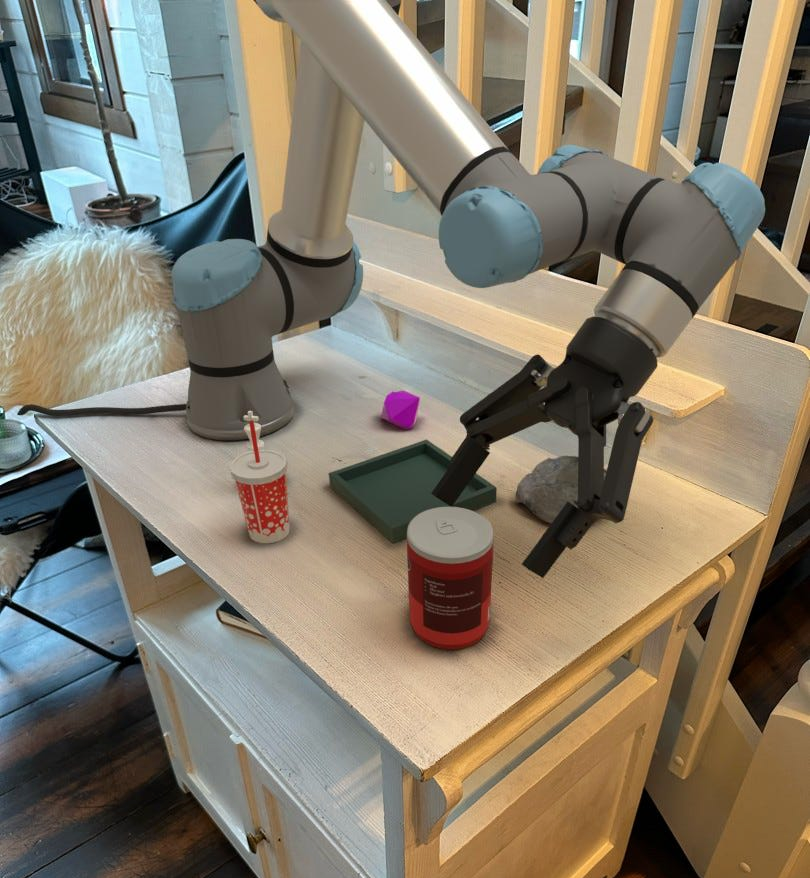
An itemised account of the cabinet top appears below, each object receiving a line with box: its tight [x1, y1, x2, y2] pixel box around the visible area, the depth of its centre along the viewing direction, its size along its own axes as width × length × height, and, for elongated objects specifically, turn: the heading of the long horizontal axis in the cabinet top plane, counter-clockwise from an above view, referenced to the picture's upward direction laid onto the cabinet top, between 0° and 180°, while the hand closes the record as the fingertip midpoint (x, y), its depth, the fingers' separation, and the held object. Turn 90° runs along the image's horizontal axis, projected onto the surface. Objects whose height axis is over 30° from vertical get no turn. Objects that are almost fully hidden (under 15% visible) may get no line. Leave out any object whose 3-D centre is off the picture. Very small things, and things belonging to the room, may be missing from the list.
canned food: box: [406, 507, 495, 650], centre depth 70 cm, size 8×8×11 cm
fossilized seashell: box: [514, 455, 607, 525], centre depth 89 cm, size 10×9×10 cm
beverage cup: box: [228, 420, 291, 544], centre depth 82 cm, size 6×6×14 cm
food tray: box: [328, 439, 498, 544], centre depth 91 cm, size 15×15×2 cm
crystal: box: [380, 390, 421, 431], centre depth 106 cm, size 5×5×5 cm
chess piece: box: [244, 411, 265, 451], centre depth 92 cm, size 5×5×10 cm
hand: (483, 533), depth 69 cm, fingers open, 13 cm apart
